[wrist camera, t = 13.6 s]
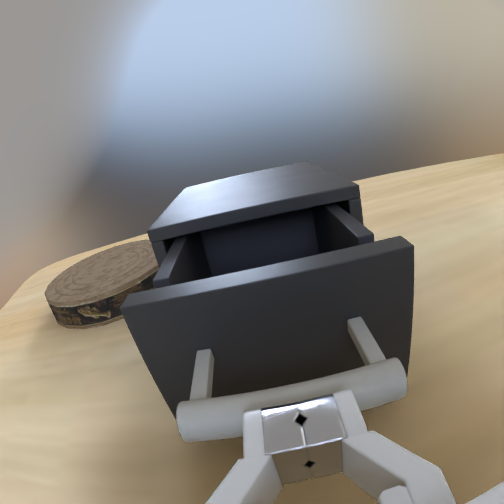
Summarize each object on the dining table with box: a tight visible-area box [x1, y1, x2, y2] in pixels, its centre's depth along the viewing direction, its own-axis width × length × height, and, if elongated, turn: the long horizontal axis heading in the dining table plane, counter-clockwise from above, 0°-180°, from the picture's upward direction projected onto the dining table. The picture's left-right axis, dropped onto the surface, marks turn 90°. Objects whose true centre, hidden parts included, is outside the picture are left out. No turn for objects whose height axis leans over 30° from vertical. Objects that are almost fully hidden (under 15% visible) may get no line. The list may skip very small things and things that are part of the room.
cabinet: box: [147, 162, 363, 268], centre depth 26 cm, size 15×13×9 cm
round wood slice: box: [45, 240, 159, 329], centre depth 35 cm, size 16×16×3 cm
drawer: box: [120, 203, 414, 442], centre depth 17 cm, size 18×11×7 cm, turn 2°
